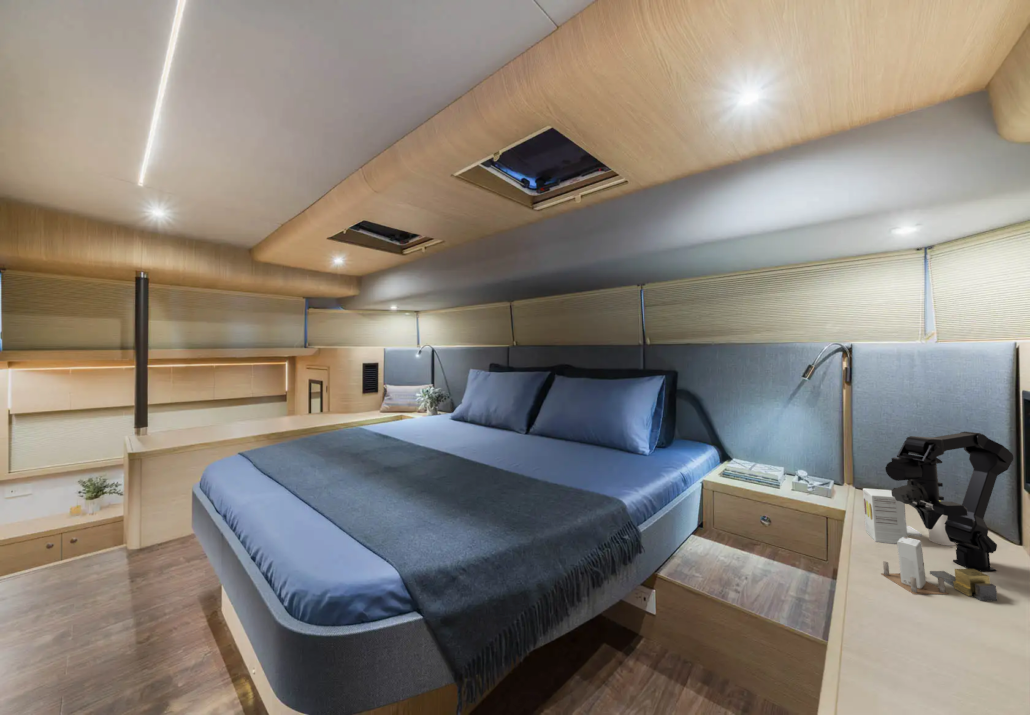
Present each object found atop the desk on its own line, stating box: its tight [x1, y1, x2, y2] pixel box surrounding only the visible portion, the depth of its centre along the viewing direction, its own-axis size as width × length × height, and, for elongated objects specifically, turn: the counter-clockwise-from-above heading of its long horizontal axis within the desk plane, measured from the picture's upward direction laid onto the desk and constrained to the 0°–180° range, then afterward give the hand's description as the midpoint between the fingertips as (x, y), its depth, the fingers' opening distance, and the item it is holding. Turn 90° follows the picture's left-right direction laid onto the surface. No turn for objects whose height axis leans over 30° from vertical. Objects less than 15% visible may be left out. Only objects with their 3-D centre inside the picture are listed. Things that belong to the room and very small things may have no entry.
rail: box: [929, 570, 998, 602], centre depth 113 cm, size 4×14×4 cm, turn 175°
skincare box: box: [896, 536, 927, 589], centre depth 116 cm, size 6×4×12 cm
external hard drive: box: [906, 525, 923, 537], centre depth 151 cm, size 2×8×12 cm
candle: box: [927, 500, 956, 547], centre depth 141 cm, size 6×6×15 cm
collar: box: [953, 568, 991, 597], centre depth 110 cm, size 6×4×5 cm, turn 85°
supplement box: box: [862, 488, 908, 545], centre depth 145 cm, size 10×9×17 cm
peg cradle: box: [880, 561, 950, 595], centre depth 116 cm, size 9×11×4 cm
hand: (929, 528), depth 122 cm, fingers closed
